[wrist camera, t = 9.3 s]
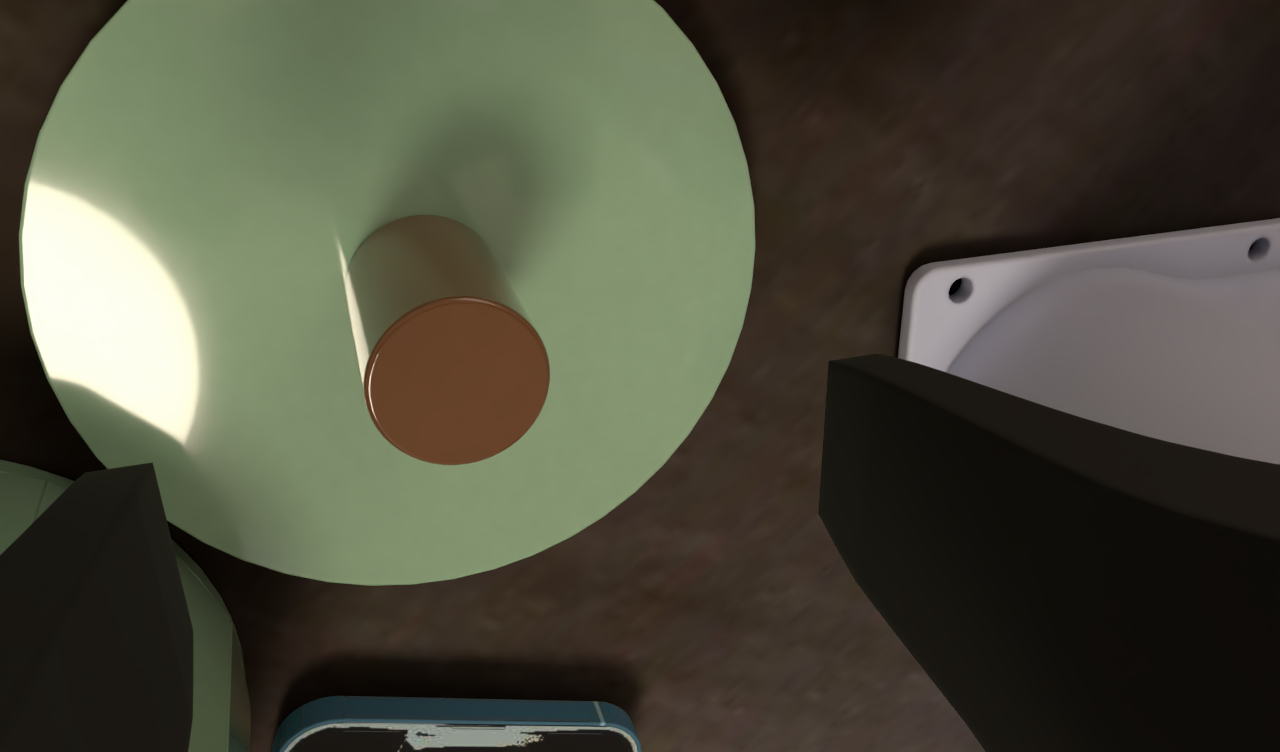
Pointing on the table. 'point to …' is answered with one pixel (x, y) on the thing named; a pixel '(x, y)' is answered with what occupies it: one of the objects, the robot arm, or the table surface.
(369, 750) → the smartphone
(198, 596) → the pot
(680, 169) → the pot lid
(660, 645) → the table surface
